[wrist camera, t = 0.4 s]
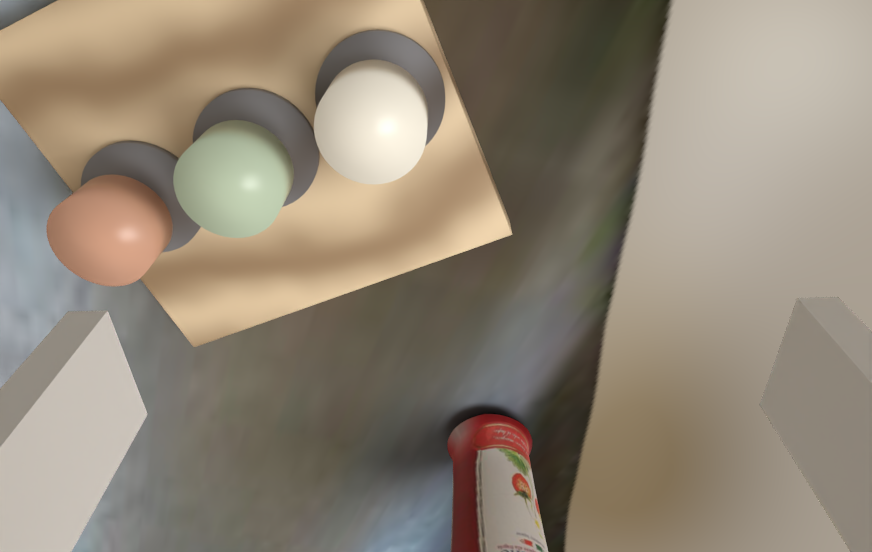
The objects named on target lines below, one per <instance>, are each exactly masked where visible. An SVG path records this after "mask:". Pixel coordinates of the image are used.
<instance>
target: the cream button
mask: <svg viewBox="0 0 872 552" xmlns="http://www.w3.org/2000/svg"><path fill="white" fill-rule="evenodd" d="M427 125H428V106H427V101H426V98H425V95H424V92H423V90H422V88H421V87H420V85H419V84H418V82H417V81H416V80H415V78H414V77H413V76H412V75H411V74H410V73H408V72H407V71H406V70H404V69H403V68H402V67H400V66H398V65H396V64H393V63H391V62H388V61H383V60H364V61H359V62H357V63H354V64H352V65H350V66H348V67H346V68H345V69H343V70H342V71H341V72H340V73H339V74H338V75H337V76H336V77H335V78H334V80H333V81H332V82H331V84H330V86H329V87H328V89H327V91H326V92H325V94H324V96H323V97H322V99H321V101H320V102H319V104H318V107H317V110H316V113H315V117H314V134H315V140H316V143H317V146H318V148H319V150H320V153H321V154H322V156H323V157H324V159H325V160H326V161H327V163H328V164H329V165H330V166H331V167H332V168H333V169H334V170H335V171H337V172H338V173H339V174H341V175H342V176H344V177H346V178H348V179H350V180H352V181H355V182H359V183H363V184H373V185H374V184H384V183H389V182H392V181H395V180H397V179H399V178H401V177H402V176H404V175H406V174H407V173H408V172H409V171H410V170H412V168H413V167H414V166H415V165H416V164H417V162H418V161H419V159H420V158H421V156H422V154H423V151H424V148H425V144H426V139H427Z"/></svg>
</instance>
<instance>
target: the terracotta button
mask: <svg viewBox="0 0 872 552" xmlns="http://www.w3.org/2000/svg"><path fill="white" fill-rule="evenodd" d="M172 231H173V224H172V219H171V215H170V213H169V211H168V208H167V207H166V205H165V203H164V202H163V201H162V199H161V198H160V197H159V196H158V195H157V194H156V193H155V192H154V191H153V190H152V189H150V188H149V187H148V186H146V185H145V184H143V183H141V182H139V181H137V180H135V179H133V178H130V177H126V176H122V175H112V174H111V175H102V176H98V177H95V178H93V179H91V180H89V181H88V182H87V183H85V184H84V185H83V186H82V187H80V188H79V189H78V190H77V191H75V192H74V193H73V194H72V195H70V196H69V197H68V198H66V199H65V200H64V201H63V202H61V203H60V204H59V205H58V206H56V207H55V208H54V210H53V211H52V212H51V214H50V216H49V218H48V222H47V237H48V241H49V244H50V246H51V248H52V250H53V252H54V253H55V255H56V256H57V258H58V259H59V260H60V261H61V262H62V263H63V264H64V265H65V266H66V267H67V268H68V269H69V270H70V271H72V272H73V273H75V274H76V275H78V276H79V277H81V278H83V279H85V280H87V281H90V282H93V283H96V284H99V285H105V286H123V285H127V284H131V283H133V282H135V281H137V280H138V279H140V278H141V277H142V276H143V275H144V274H145V273H146V272H147V270H148V269H149V268H150V267H151V265H152V264H153V263H154V262H155V260H156V259H157V258H158V257H159V255H160V254H161V253H162V252H163V250H164V249H165V248H166V247H167V245H168V244H169V242H170V240H171V237H172Z"/></svg>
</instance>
